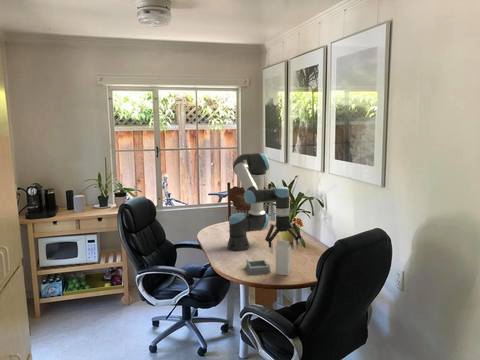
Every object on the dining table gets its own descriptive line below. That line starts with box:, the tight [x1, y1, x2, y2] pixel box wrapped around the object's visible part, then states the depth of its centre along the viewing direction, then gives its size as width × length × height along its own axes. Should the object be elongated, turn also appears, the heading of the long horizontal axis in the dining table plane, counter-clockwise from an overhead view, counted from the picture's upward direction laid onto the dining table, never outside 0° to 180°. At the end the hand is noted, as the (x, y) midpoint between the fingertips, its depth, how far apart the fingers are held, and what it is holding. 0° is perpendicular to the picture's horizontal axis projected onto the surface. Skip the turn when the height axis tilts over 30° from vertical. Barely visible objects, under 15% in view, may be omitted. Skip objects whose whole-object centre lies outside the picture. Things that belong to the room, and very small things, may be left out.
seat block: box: [245, 258, 272, 276], centre depth 223 cm, size 12×12×5 cm
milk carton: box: [274, 239, 292, 276], centre depth 216 cm, size 7×7×19 cm
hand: (283, 251), depth 215 cm, fingers open, 13 cm apart
